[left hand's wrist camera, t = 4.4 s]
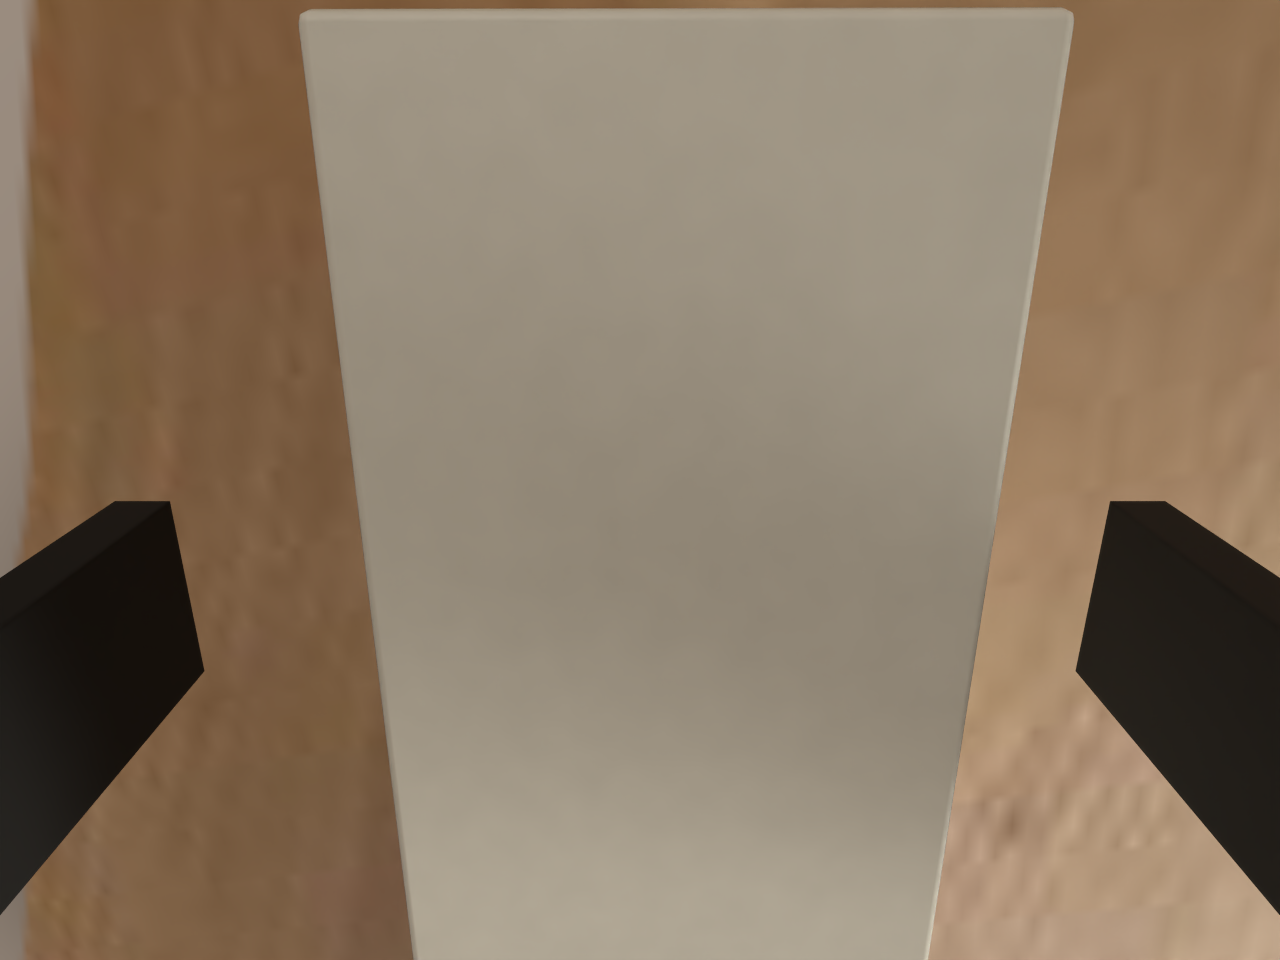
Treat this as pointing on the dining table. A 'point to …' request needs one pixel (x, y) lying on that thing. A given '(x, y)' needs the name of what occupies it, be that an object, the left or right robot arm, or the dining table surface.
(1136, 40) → the dining table surface
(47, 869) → the dining table surface
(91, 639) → the left robot arm
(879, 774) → the beam
